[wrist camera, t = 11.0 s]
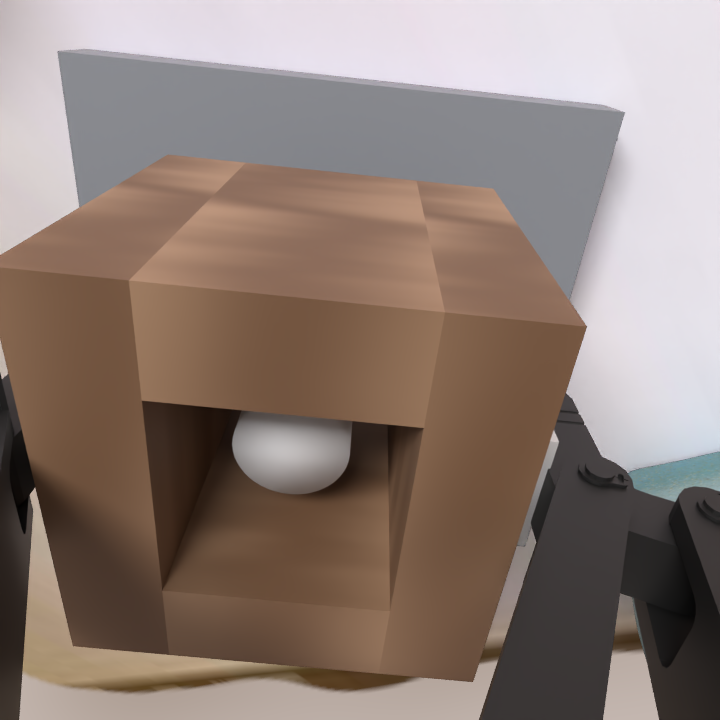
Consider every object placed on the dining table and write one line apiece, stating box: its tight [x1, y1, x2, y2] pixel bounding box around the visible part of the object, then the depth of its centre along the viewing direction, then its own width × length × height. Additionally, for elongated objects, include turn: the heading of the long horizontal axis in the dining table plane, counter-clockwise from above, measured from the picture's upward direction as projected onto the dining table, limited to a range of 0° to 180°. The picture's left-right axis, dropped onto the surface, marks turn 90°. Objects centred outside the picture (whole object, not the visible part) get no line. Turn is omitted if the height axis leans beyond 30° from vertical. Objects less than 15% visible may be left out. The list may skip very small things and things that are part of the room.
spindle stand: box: [58, 49, 625, 494], centre depth 18 cm, size 18×12×13 cm, turn 84°
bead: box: [0, 155, 587, 682], centre depth 14 cm, size 8×8×8 cm
